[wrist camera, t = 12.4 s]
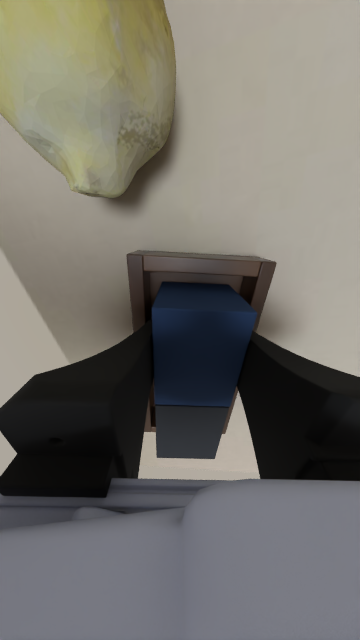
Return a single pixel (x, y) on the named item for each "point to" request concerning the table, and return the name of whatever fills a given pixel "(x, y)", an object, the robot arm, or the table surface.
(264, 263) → the frame
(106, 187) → the fruit
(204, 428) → the dark grey rectangular block
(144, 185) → the table surface
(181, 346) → the blue rectangular block
